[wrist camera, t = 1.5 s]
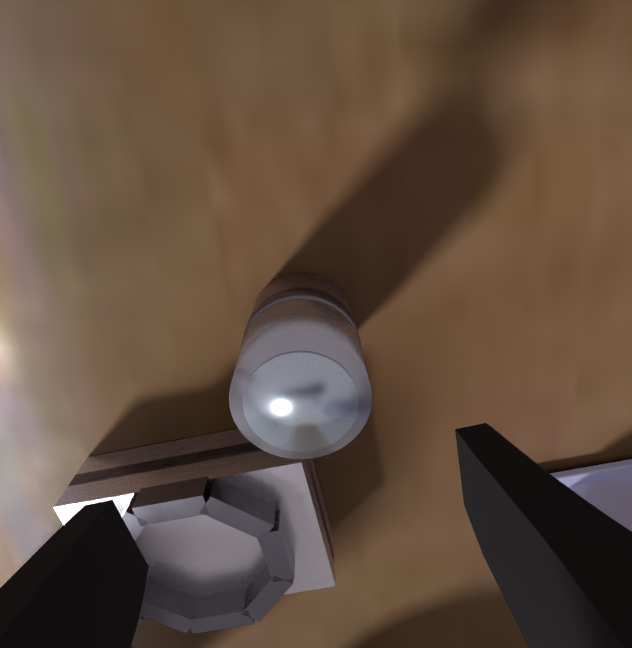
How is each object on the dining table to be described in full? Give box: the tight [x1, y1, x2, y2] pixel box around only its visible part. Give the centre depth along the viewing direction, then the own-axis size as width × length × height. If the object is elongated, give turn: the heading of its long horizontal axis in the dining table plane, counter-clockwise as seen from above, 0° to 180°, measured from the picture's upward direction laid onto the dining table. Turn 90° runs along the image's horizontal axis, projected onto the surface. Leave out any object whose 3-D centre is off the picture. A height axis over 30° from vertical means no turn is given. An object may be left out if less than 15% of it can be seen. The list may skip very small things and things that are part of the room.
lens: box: [229, 272, 372, 459], centre depth 15 cm, size 4×4×6 cm
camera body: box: [54, 429, 336, 634], centre depth 20 cm, size 10×7×4 cm
